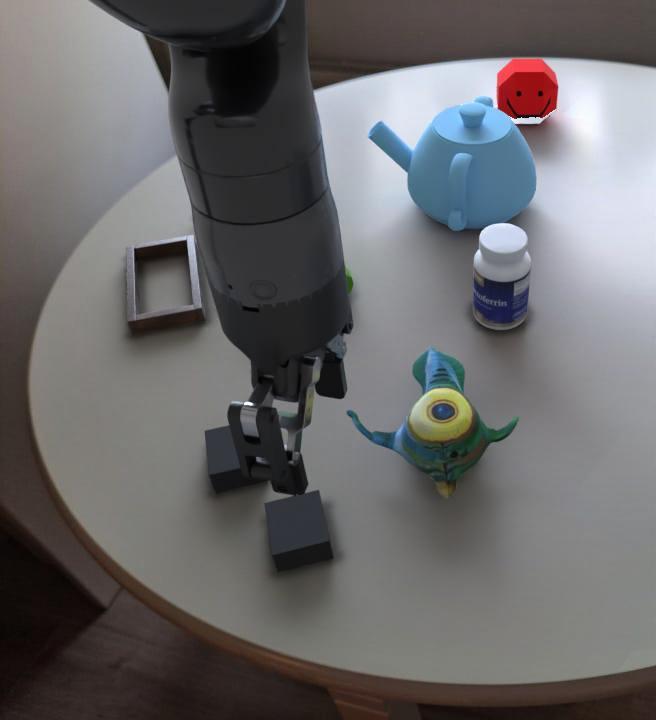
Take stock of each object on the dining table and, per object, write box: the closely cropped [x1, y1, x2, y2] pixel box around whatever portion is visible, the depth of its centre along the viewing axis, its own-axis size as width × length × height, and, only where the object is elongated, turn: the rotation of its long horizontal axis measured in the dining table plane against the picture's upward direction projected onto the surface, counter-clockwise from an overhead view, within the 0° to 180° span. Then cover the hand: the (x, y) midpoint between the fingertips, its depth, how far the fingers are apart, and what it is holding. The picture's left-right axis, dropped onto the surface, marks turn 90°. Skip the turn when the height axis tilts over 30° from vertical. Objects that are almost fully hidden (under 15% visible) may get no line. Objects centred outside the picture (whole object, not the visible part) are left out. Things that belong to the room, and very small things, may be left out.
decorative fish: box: [346, 346, 520, 499], centre depth 71 cm, size 13×12×6 cm
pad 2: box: [263, 489, 335, 573], centre depth 64 cm, size 4×5×3 cm
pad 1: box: [204, 424, 268, 494], centre depth 69 cm, size 4×5×3 cm
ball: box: [496, 58, 559, 119], centre depth 110 cm, size 8×8×8 cm
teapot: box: [366, 94, 538, 232], centre depth 94 cm, size 20×20×13 cm
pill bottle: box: [472, 222, 532, 331], centre depth 81 cm, size 6×6×10 cm
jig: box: [125, 234, 207, 336], centre depth 86 cm, size 7×13×2 cm, turn 18°
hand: (312, 439), depth 56 cm, fingers open, 8 cm apart
